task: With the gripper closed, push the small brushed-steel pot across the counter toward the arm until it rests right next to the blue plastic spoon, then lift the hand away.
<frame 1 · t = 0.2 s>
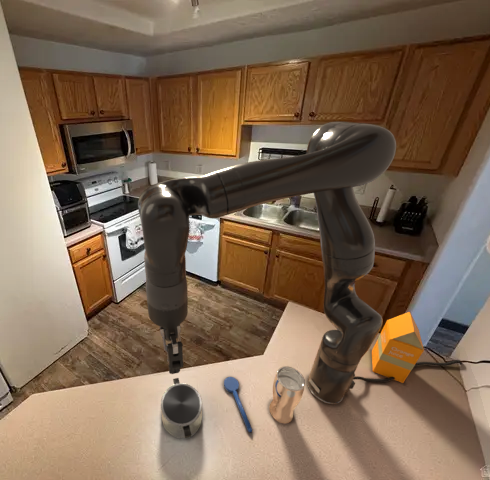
hand: (170, 353, 55), 29 cm above the counter, tool pointing down, fingers open, 8 cm apart
blue spoon: (237, 402, 74), on the counter
orange juice: (386, 366, 82), on the counter
steel pot: (181, 415, 71), on the counter
beer glass: (280, 412, 71), on the counter
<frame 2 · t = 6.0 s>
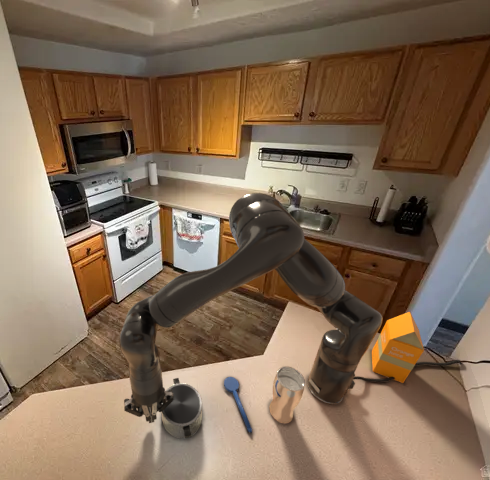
hand: (151, 418, 69), 2 cm above the counter, tool pointing down, fingers closed
steel pot: (181, 415, 71), on the counter, touching gripper
everything else where it was.
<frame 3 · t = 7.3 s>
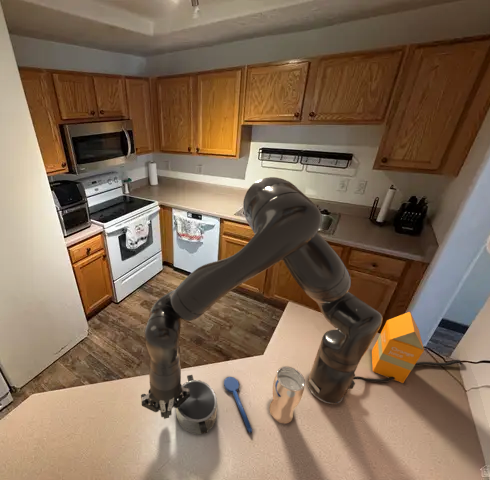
hand: (166, 414, 70), 2 cm above the counter, tool pointing down, fingers closed
steel pot: (196, 411, 72), on the counter, touching gripper
everything else where it was.
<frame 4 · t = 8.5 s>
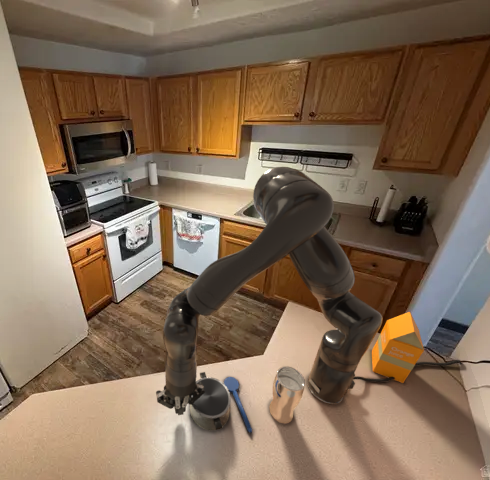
hand: (180, 411, 70), 2 cm above the counter, tool pointing down, fingers closed
steel pot: (209, 408, 73), on the counter, touching gripper
everything else where it was.
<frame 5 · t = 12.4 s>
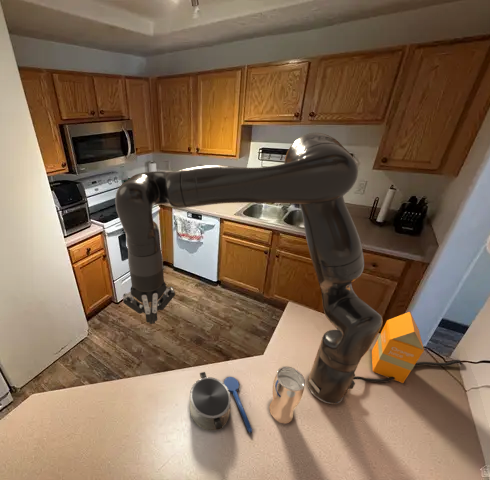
hand: (152, 321, 66), 27 cm above the counter, tool pointing down, fingers closed
steel pot: (209, 408, 73), on the counter
everything else where it was.
at the end: steel pot 0.5 cm from the target spot, on the counter; steel pot 8.5 cm from the blue spoon (horizontally); steel pot tilted 0° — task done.
